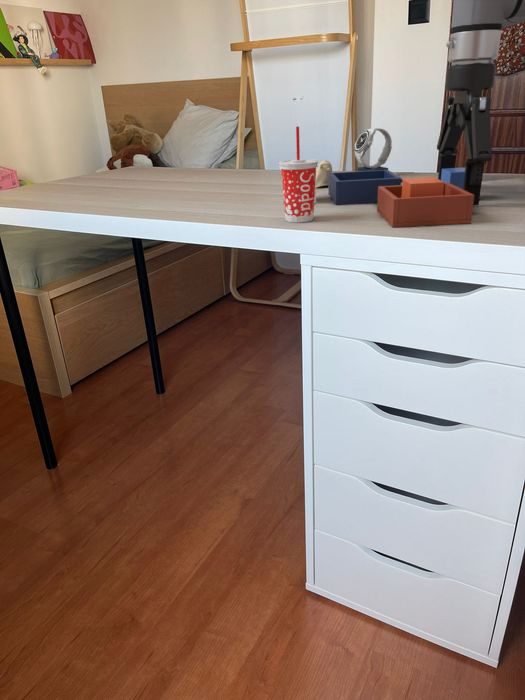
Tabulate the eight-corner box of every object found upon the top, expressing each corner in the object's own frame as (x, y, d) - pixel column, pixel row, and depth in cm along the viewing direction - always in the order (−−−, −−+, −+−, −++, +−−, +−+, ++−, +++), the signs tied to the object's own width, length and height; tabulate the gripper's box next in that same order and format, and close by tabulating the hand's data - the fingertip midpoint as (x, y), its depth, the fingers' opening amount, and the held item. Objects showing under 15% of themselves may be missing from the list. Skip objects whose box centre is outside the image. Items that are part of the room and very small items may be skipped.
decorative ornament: (331, 182, 118) (331, 157, 116) (333, 188, 111) (333, 162, 108) (313, 183, 119) (313, 158, 116) (313, 189, 111) (313, 163, 109)
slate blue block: (466, 195, 97) (469, 167, 94) (476, 200, 92) (480, 170, 90) (439, 197, 97) (441, 168, 95) (447, 202, 92) (450, 172, 90)
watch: (349, 182, 117) (350, 129, 112) (381, 179, 119) (383, 126, 114) (361, 186, 112) (363, 130, 107) (394, 182, 114) (397, 127, 109)
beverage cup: (284, 224, 83) (281, 129, 77) (277, 217, 88) (274, 127, 82) (322, 221, 84) (322, 126, 78) (312, 214, 89) (312, 124, 83)
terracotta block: (431, 209, 85) (434, 177, 83) (441, 215, 80) (444, 181, 78) (400, 211, 85) (402, 178, 83) (408, 217, 81) (410, 183, 78)
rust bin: (446, 207, 88) (448, 182, 86) (471, 223, 78) (474, 194, 76) (376, 211, 88) (378, 186, 87) (392, 227, 78) (393, 199, 76)
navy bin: (386, 190, 105) (387, 169, 104) (400, 201, 95) (401, 178, 93) (328, 194, 106) (328, 172, 104) (335, 205, 95) (335, 181, 93)
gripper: (426, 67, 96) (416, 187, 106) (476, 60, 74) (458, 213, 83) (467, 65, 96) (454, 185, 106) (530, 57, 74) (506, 210, 83)
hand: (456, 198), depth 94 cm, fingers open, 13 cm apart
